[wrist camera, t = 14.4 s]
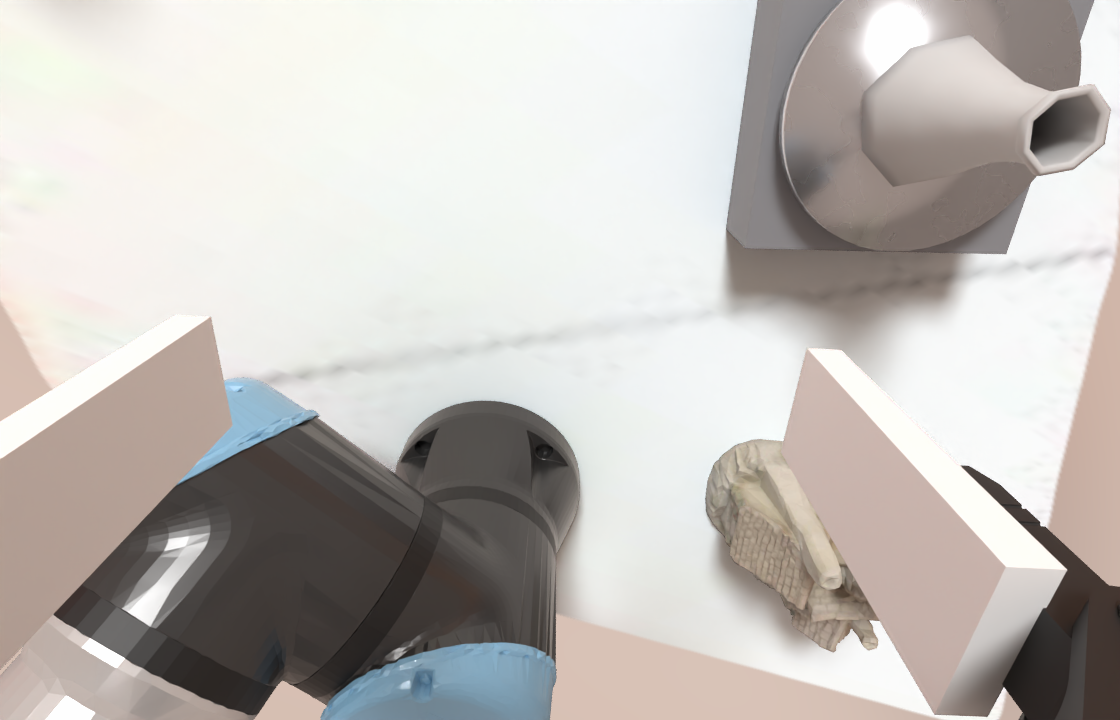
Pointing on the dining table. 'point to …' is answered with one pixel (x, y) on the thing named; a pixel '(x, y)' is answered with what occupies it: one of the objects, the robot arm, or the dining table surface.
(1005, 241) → the base
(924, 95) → the flask
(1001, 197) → the scale pan
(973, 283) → the dining table surface
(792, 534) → the ceramic cottage
